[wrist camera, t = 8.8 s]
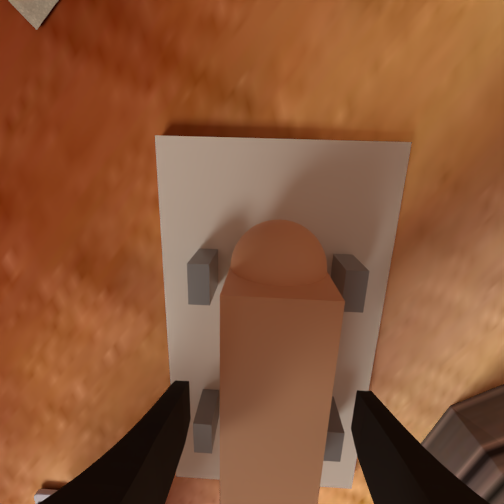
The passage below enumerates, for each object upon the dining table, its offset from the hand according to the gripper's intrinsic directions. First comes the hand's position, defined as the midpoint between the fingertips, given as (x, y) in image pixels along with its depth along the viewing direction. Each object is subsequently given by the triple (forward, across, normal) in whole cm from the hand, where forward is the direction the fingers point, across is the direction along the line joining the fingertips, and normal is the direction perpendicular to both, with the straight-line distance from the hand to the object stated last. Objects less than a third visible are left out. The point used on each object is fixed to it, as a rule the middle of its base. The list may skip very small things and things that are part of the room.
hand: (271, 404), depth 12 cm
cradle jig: (+5, 0, 0) cm, 5 cm away
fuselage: (+4, 0, 0) cm, 4 cm away
